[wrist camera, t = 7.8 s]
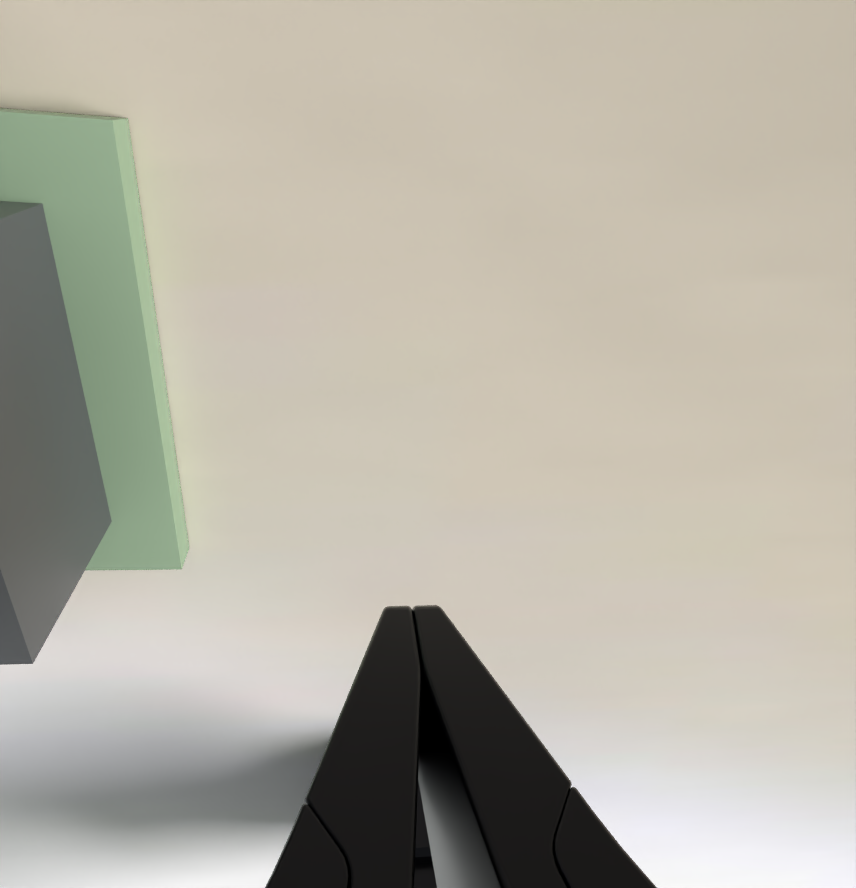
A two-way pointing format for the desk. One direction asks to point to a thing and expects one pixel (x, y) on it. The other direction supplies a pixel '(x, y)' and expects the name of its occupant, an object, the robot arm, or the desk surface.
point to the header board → (106, 319)
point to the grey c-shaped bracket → (40, 443)
